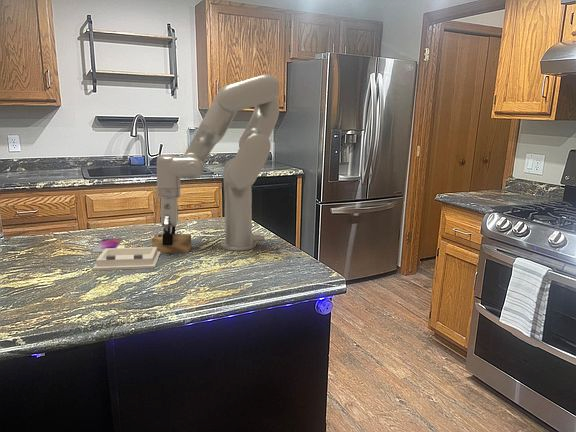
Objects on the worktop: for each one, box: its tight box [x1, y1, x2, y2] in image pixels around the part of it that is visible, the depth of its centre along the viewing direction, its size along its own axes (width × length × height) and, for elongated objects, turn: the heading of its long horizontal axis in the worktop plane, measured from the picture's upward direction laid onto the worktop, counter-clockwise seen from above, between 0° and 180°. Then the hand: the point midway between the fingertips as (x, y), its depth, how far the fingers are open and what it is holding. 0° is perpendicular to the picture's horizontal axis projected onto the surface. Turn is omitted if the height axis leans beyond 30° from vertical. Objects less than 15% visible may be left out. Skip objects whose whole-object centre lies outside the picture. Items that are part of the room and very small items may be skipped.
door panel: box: [151, 233, 192, 254], centre depth 149 cm, size 12×6×6 cm, turn 93°
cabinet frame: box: [92, 246, 162, 272], centre depth 136 cm, size 18×14×4 cm
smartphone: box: [90, 238, 123, 254], centre depth 151 cm, size 7×1×15 cm
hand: (169, 240), depth 148 cm, fingers open, 9 cm apart
